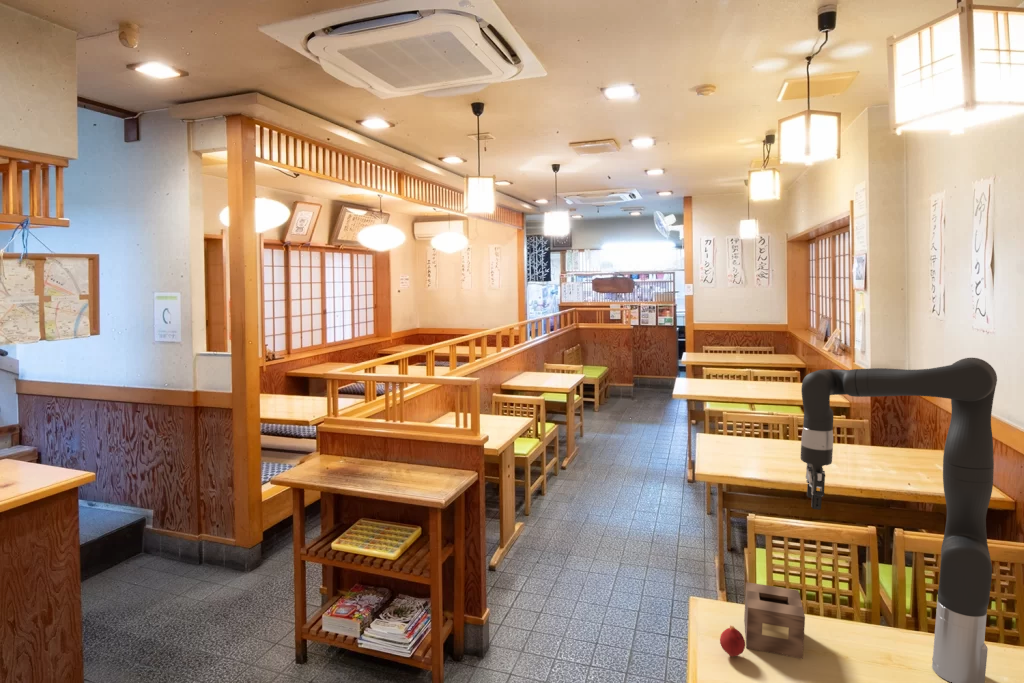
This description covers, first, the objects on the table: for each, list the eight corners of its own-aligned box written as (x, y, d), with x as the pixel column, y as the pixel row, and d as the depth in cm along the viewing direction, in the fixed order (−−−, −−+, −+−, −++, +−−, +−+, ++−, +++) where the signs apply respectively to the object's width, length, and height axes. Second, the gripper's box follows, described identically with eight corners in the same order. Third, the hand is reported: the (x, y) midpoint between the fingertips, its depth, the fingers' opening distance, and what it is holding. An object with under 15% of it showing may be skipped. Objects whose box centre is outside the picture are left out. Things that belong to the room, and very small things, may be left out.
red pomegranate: (740, 649, 149) (741, 619, 148) (747, 664, 144) (748, 633, 143) (717, 648, 150) (718, 618, 149) (722, 662, 144) (724, 632, 143)
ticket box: (796, 629, 158) (798, 590, 156) (802, 659, 145) (805, 617, 144) (744, 619, 162) (745, 582, 161) (746, 648, 150) (748, 607, 148)
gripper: (837, 453, 149) (834, 515, 151) (828, 438, 163) (824, 495, 164) (804, 450, 152) (801, 511, 153) (798, 436, 165) (795, 492, 167)
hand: (813, 503), depth 159 cm, fingers open, 8 cm apart
